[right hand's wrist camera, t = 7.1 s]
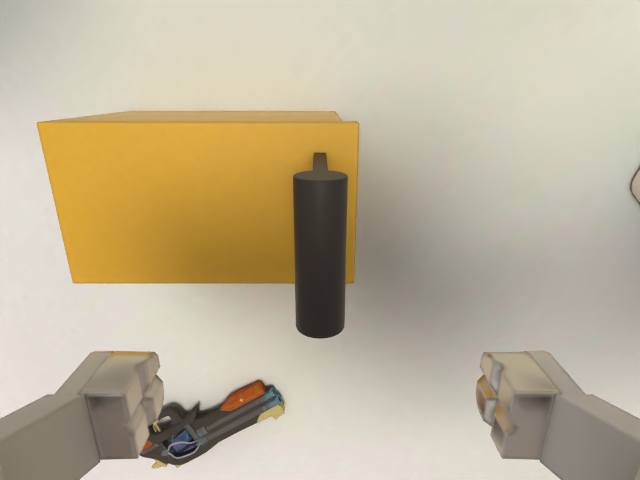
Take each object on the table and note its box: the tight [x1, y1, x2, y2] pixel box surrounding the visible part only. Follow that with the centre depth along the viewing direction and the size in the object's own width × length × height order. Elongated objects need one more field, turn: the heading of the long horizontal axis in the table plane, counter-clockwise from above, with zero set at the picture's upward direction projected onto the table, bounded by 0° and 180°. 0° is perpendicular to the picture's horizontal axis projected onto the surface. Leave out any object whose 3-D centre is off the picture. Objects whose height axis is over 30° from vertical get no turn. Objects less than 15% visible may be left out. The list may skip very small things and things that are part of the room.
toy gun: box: [140, 381, 285, 468], centre depth 43 cm, size 3×19×10 cm
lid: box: [37, 121, 359, 338], centre depth 21 cm, size 18×10×9 cm, turn 90°
